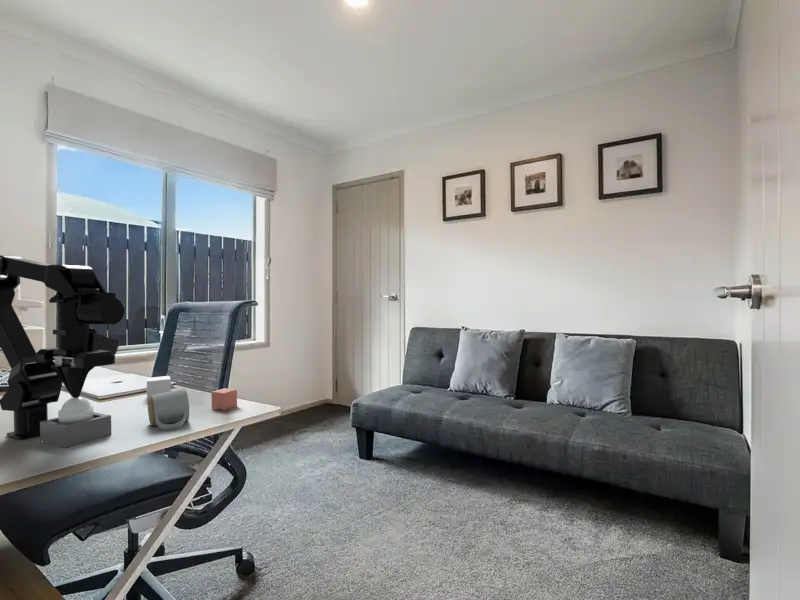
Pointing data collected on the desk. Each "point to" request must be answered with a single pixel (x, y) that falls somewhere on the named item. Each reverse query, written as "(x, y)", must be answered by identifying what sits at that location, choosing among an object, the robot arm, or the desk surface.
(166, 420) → the ceramic mug
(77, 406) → the dome
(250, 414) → the desk surface
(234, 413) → the desk surface
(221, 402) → the salmon red block
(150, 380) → the white cube
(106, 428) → the dome base
